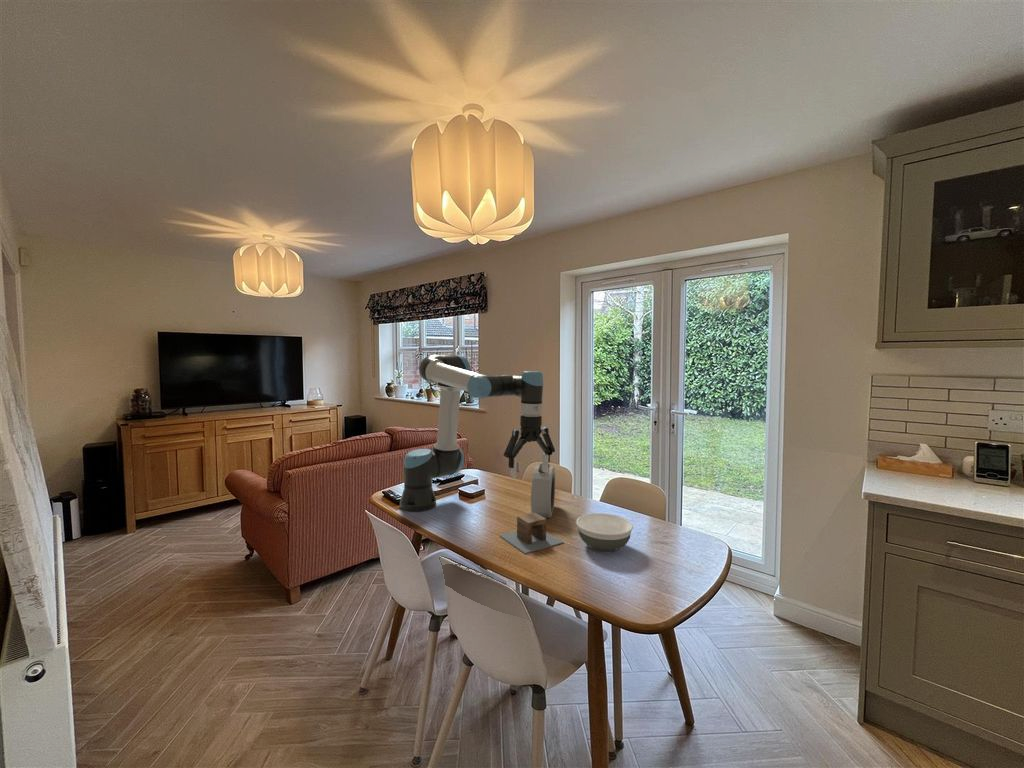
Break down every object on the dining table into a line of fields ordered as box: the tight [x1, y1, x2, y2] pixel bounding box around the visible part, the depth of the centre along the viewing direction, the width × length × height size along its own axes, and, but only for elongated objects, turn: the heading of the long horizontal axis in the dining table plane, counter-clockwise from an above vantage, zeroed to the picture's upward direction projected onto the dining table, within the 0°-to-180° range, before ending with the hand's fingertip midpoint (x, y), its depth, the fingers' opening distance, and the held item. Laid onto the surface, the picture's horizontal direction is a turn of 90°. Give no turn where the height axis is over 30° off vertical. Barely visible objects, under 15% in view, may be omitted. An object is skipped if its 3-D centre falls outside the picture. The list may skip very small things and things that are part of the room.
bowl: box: [575, 512, 634, 553], centre depth 143 cm, size 19×19×8 cm
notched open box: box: [516, 513, 547, 545], centre depth 148 cm, size 8×7×8 cm
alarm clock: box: [530, 463, 556, 519], centre depth 175 cm, size 21×8×20 cm, turn 168°
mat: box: [499, 530, 564, 555], centre depth 148 cm, size 16×16×1 cm
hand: (529, 474), depth 151 cm, fingers open, 13 cm apart
